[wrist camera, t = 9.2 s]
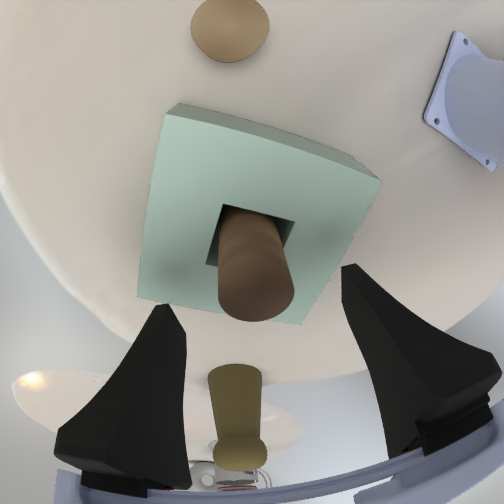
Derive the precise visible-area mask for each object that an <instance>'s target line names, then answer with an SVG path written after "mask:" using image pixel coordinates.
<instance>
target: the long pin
mask: <svg viewBox="0 0 504 504" xmlns="http://www.w3.org/2000/svg"><path fill="white" fill-rule="evenodd" d="M294 292H295V291H294V285H293V281H292V278H291V274H290V271H289V267H288V264H287V260H286V257H285V253H284V250H283V247H282V243H281V240H280V237H279V233H278V230H277V226H276V223H275V220H274V217H273V216H272V215H268V214H264V213H260V212H256V211H252V210H248V209H244V208H240V207H236V206H231V205H227V204H223V205H222V208H221V211H220V215H219V245H218V301H219V304H220V306H221V308H222V309H223V310H224V311H225V312H226V313H227V314H228V315H230V316H231V317H233V318H236V319H238V320H242V321H249V322H257V321H264V320H268V319H271V318H273V317H276V316H277V315H279V314H281V313H282V312H284V311H285V310H286V309H287V308H288V307H289V305H290V304H291V302H292V300H293V298H294Z"/></svg>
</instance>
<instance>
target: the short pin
mask: <svg viewBox="0 0 504 504" xmlns="http://www.w3.org/2000/svg"><path fill="white" fill-rule="evenodd" d="M268 32H269V20H268V16H267V14H266V12H265V10H264V9H263V7H262V6H261V5H260V4H259V3H258V2H256V1H255V0H207V1H205V2H204V3H203V4H201V5H200V6H199V8H198V9H197V10H196V12H195V13H194V15H193V17H192V21H191V35H192V37H193V40H194V42H195V43H196V45H197V46H198V47H199V48H200V49H201V50H202V51H203V52H204V53H205V54H207V55H208V56H209V57H211V58H212V59H214V60H217V61H220V62H236V61H239V60H242V59H244V58H246V57H247V56H249V55H250V54H252V53H253V52H255V51H256V50H257V49H258V48H260V47H261V45H262V44H263V43H264V41H265V40H266V38H267V35H268Z"/></svg>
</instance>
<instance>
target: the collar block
mask: <svg viewBox="0 0 504 504" xmlns="http://www.w3.org/2000/svg"><path fill="white" fill-rule="evenodd" d="M381 183H382V181H381V180H380V179H379V178H378V177H377V176H376V175H374V174H373V173H372V172H371V171H370V170H369V169H367V168H366V167H365V166H364V165H363V164H361V163H360V162H359V161H358V160H357V159H355V158H354V157H352V156H350V155H347V154H345V153H342V152H340V151H337V150H335V149H332V148H330V147H327V146H324V145H322V144H319V143H316V142H313V141H311V140H308V139H305V138H302V137H299V136H297V135H294V134H291V133H288V132H285V131H282V130H279V129H275V128H272V127H269V126H266V125H263V124H259V123H256V122H252V121H249V120H245V119H242V118H238V117H235V116H231V115H227V114H223V113H219V112H215V111H211V110H207V109H203V108H198V107H194V106H189V105H185V104H180V103H179V104H177V105H176V106H175V107H173V108H172V109H171V110H170V111H168V112H167V113H166V114H165V117H164V121H163V125H162V129H161V134H160V138H159V143H158V148H157V152H156V157H155V162H154V168H153V173H152V179H151V184H150V190H149V196H148V202H147V209H146V216H145V223H144V231H143V239H142V247H141V256H140V266H139V278H138V290H137V297H139V298H143V299H148V300H153V301H157V302H162V303H169V304H172V305H177V306H183V307H188V308H193V309H199V310H204V311H210V312H216V313H222V314H227V313H226V312H225V311H224V310H223V309H222V308H221V306H220V304H219V301H218V245H219V229H215V228H216V225H217V221H218V218H219V215H220V211H221V208H222V205H223V204H227V205H231V206H236V207H240V208H244V209H248V210H252V211H256V212H260V213H264V214H268V215H272V216H273V217H274V220H275V223H276V226H277V230H278V233H279V237H280V240H281V243H282V247H283V250H284V253H285V257H286V260H287V264H288V267H289V271H290V274H291V278H292V281H293V285H294V291H295V292H294V298H293V300H292V302H291V304H290V305H289V307H288V308H287V309H286V310H285V311H284V312H282V313H281V314H279V315H277V316H276V317H273V318H271V319H268V320H267V321H274V322H281V323H289V324H297V325H301V324H302V322H303V321H304V319H305V318H306V316H307V314H308V313H309V311H310V310H311V308H312V306H313V305H314V303H315V302H316V300H317V298H318V297H319V295H320V294H321V292H322V290H323V289H324V287H325V285H326V284H327V282H328V280H329V279H330V277H331V275H332V274H333V272H334V270H335V268H336V267H337V265H338V263H339V262H340V260H341V258H342V256H343V255H344V253H345V251H346V249H347V247H348V246H349V244H350V242H351V240H352V239H353V237H354V235H355V233H356V231H357V229H358V228H359V226H360V224H361V222H362V220H363V218H364V216H365V214H366V213H367V211H368V209H369V207H370V205H371V203H372V201H373V199H374V197H375V195H376V193H377V191H378V189H379V187H380V185H381Z"/></svg>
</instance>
